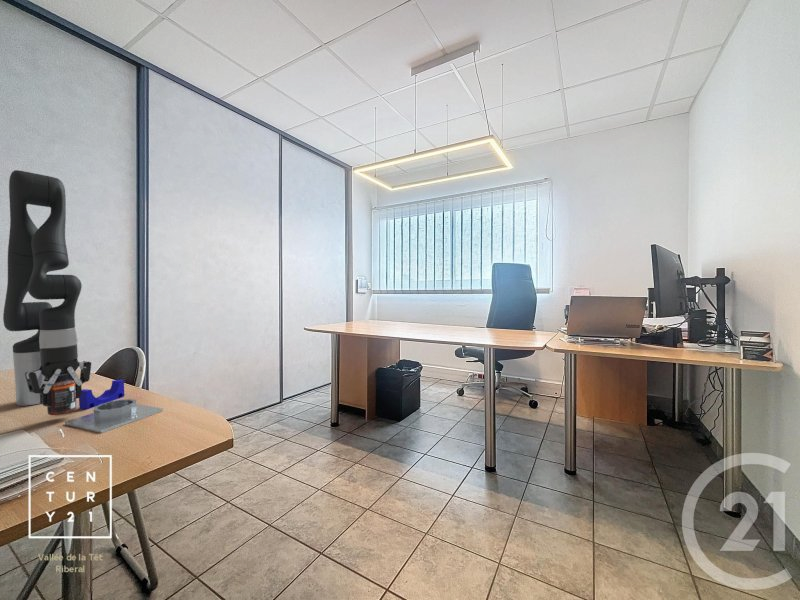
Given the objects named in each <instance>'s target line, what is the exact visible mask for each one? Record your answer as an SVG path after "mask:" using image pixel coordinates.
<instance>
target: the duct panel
mask: <svg viewBox="0 0 800 600" xmlns="http://www.w3.org/2000/svg"><path fill="white" fill-rule="evenodd" d="M163 409H164V408H162V407H158V406H151V405H146V404H140V403H137V399H132V398H127V399H126V398H125V399H121V398H120V399H116V400H113V401H110V402H107V403H103V404H100V405H98V406H96V407H93V413H90V414H85V415H83V416H79V417H76V418H73V419H70V420H67V421H64V425H66V426H71V427H74V428H77V429H78V428H79V429H82V430H87V431H91V432H96V433H100V434H103V433H105V432H108V431H111V430H114V429H116V428H119V427H122V426H125V425H128V424H131V423H133V422H136V421H139V420H142V419H145V418H148V417H150V416H152V415H153V416H154V415H155V413H156V414H159V413H161V412H163V411H164V410H163ZM158 412H159V413H158Z"/></svg>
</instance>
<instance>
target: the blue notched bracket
mask: <svg viewBox="0 0 800 600" xmlns="http://www.w3.org/2000/svg"><path fill="white" fill-rule="evenodd" d="M124 396H125V380H124V379H114V380H112V381H111V387H110V388H109V389H106V390H104V392H103V393H102V394H100V395H99V396H97V397H96V396H95V395H94V394H93V391H92V389H88V388H87V389H85V388H82V394H81V396H80V398H78V408H79V409H78V410H90V409H92V408H93V409H94V407H96V406H98V405H100V404H103V403H107V402H110V401H116V400H120V399H121V398H125V397H124Z"/></svg>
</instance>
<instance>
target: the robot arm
mask: <svg viewBox="0 0 800 600" xmlns="http://www.w3.org/2000/svg"><path fill="white" fill-rule="evenodd" d="M8 181H9V182H8V192H9V193H8V194H9V195H8V196H9V215H10V216H9V220H10V221H9V235H8V244H7V245H8V247H7V284H6V294H5V300H4V301H5V302H4V307H3V315H2V317H3V318H2V320H3V325H4V327H5V329H6V330H7V331H9V332H24V331H35V330H37V332H36V333H35V334H33V335H32V336H30V337H28V338H26V339H23V340H20V341H17V342H15V343H13V345H12V352H13V353H12V354H13V355H12V356H13V357H12V358H13V372H14V385H15V401H16V406H21V407H23V406H24V407H25V406H33V405H40V404H41V405H42V406H43V407H47V406H50V405H51V401H50V393H48V392H49V390H50V388H51V386H52V385H53V384H54V383H55V381H56V379H57V377H58V375H61V374H66V373H69V374H70V377H71V379H73V380H74V381H75V385H76V400H77V399H79V398H80V396H81V394H82V390H83V388H82V385H83V384H84V383H86V382H90V379H91V377H90V376H91V370H92V362H91V361H87V360H84V361H81V362H80V361H78V357H79V355H78V339H77V338H78V337H77V331H76V318H75V317H76V316H75V312H76V307H77V303H78V300H79V297H80V295H81V292H82V287H83V286H82V282H81V280H80V279H79V278H78V276H76V275H73V274H47V273H49V272H55V271H56V272H57V271H62V270H64V269H66V268H68V266H69V264H70V263H69V262H70V261H69V255H68V253H69V252H68V248H67V244H66V243H67V242H66V223H67V222H66V216H67V215H66V213H67V212H66V210H67V209H66V207H67V206H66V202H67V201H66V200H67V199H66V196H67V195H66V188H65V185H64V183H63V181H62V180H61V179H60V178H57V177H54V176H49V175H44V174H39V173H34V172H29V171H24V170H13V171H12V172H11V173H10V175H9V180H8ZM27 205H33V206H38V207H46V208H50V213H49V216H48V217H47V218H46V220H45V221H44V223H43V224H41V225H40V226H39V227H37V226H36V224H35V223H34V221H33V219H31V216H30V214H29V212H28V208H27ZM27 293H28V294H29V295H30V296H31V297H32V298H34V299H35V300H40V301H35V302H34V301H33V302H31V301H30V302H23V301H24V299H25V297H26V295H27ZM41 300H46V301H41ZM47 300H48V301H49V300H63V302H62V303H61V304H59V305H57V306H53V305H52V304H51V303H49V302H47ZM78 368H79V369H80V374H79V375H78V374H77V373H76V371H77V369H78Z"/></svg>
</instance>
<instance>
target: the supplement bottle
mask: <svg viewBox="0 0 800 600" xmlns="http://www.w3.org/2000/svg"><path fill="white" fill-rule="evenodd" d="M48 393H50V401H51V405H50V406H46V407H47V409H46V410H47V415H50V416H60V415H65V414H69V413H71V412H75V410H76V409H77V407H78V406H77V399H76V385H75V381H74V380H73V379H71V377H70V374H69V373H66V374H61V375H58V377H57V379H56V381H55V383H54V384H53V385H52V386H51V388H50V390H49V392H48Z"/></svg>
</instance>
